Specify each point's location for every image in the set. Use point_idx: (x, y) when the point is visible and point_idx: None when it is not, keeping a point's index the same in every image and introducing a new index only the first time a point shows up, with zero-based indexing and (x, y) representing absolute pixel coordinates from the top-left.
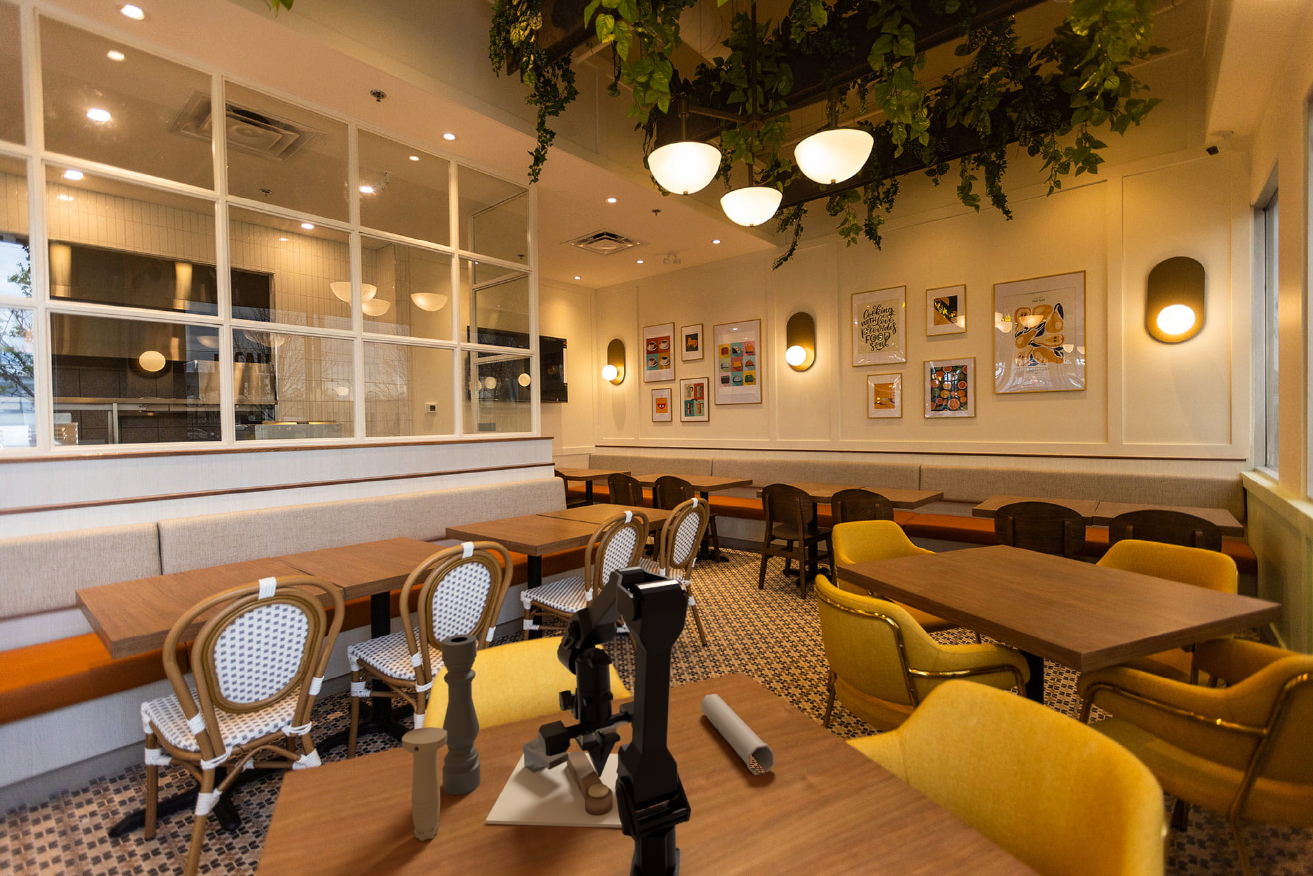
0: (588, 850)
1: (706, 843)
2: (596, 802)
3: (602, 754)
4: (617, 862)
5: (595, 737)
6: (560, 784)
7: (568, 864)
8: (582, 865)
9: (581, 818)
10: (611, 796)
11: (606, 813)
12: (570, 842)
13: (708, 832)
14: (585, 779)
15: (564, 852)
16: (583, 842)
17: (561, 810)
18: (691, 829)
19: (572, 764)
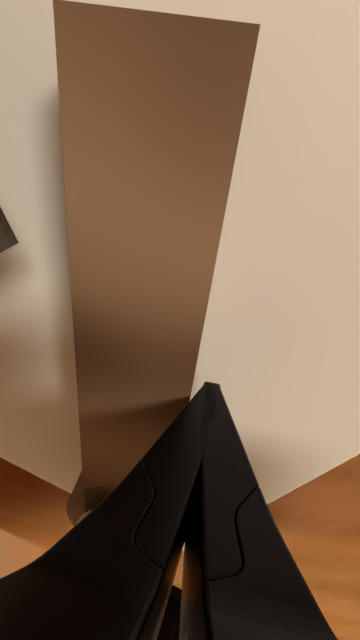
0: (62, 532)
1: None
2: None
3: (179, 633)
4: None
5: (209, 638)
6: (18, 258)
7: (10, 532)
8: (40, 546)
9: (65, 477)
10: None
11: None
12: (24, 497)
13: (348, 629)
14: (105, 431)
15: (5, 509)
16: (57, 513)
17: (4, 416)
18: (324, 611)
19: (69, 251)
